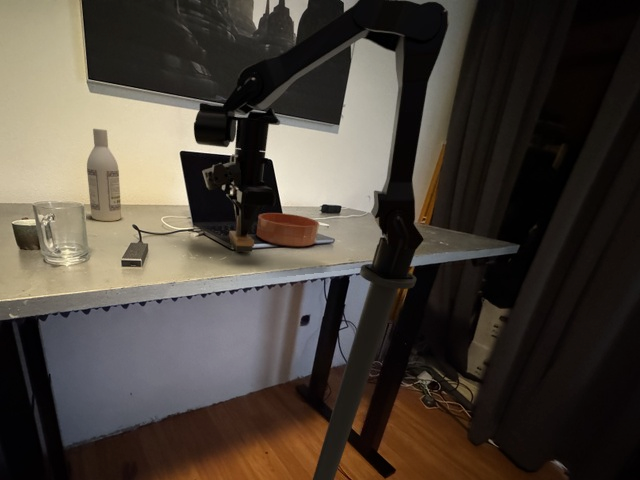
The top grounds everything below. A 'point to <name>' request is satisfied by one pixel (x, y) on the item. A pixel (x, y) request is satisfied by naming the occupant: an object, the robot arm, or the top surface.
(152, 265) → the top surface
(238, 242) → the scrub brush
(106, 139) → the bath foam
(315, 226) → the bowl
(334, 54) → the robot arm
